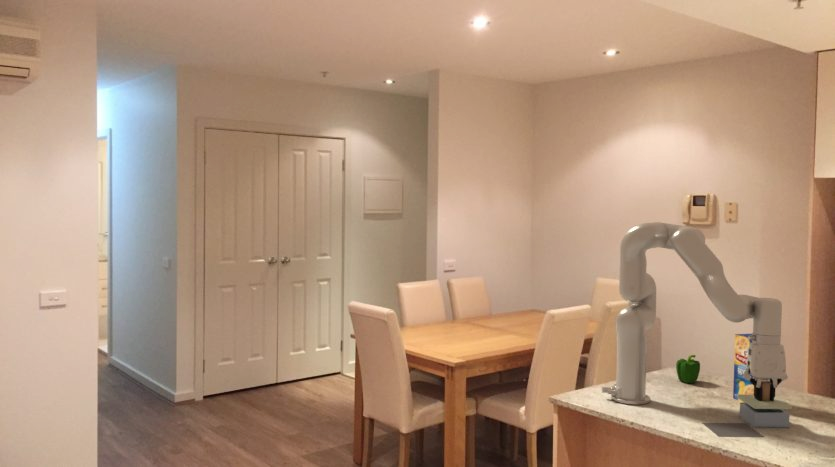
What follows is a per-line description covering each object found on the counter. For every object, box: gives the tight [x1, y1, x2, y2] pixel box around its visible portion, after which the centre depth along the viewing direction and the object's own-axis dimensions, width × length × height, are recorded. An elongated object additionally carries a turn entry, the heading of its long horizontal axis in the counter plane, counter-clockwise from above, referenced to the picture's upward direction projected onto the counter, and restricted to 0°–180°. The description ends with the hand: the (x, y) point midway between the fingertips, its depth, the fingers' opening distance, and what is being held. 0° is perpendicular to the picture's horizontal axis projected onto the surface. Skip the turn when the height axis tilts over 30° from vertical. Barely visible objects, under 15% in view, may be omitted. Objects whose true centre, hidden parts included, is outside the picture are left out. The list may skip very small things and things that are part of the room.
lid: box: [738, 380, 793, 410], centre depth 211 cm, size 11×11×7 cm
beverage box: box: [732, 333, 769, 403], centre depth 232 cm, size 7×11×22 cm, turn 11°
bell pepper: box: [675, 354, 701, 384], centre depth 258 cm, size 8×8×10 cm
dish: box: [739, 402, 790, 429], centre depth 211 cm, size 10×10×5 cm
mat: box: [702, 422, 765, 438], centre depth 204 cm, size 13×12×1 cm
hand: (764, 399), depth 211 cm, fingers closed on lid, 3 cm apart
